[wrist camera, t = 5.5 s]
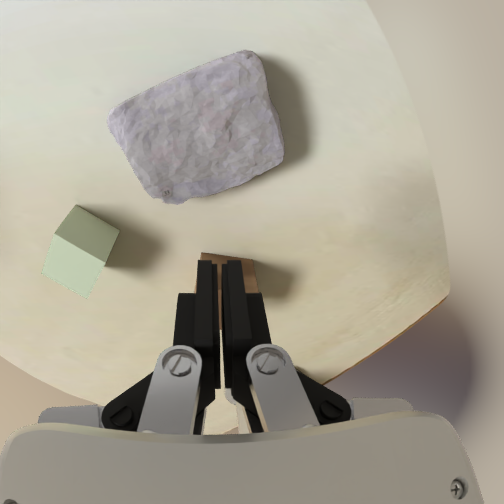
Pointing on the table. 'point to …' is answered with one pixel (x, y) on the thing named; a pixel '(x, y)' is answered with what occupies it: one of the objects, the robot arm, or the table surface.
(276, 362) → the robot arm
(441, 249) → the table surface
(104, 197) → the table surface
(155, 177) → the stone block
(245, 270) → the walnut block
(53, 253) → the sage block
